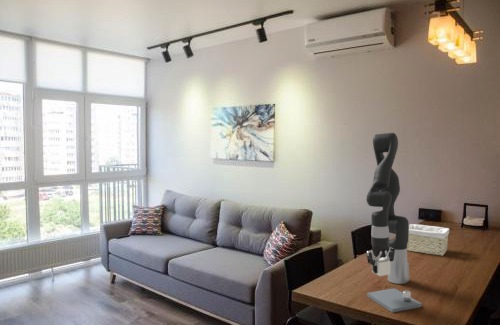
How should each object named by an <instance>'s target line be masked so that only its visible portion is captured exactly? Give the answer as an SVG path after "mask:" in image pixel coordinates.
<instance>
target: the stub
mask: <svg viewBox="0 0 500 325" xmlns="http://www.w3.org/2000/svg"><path fill="white" fill-rule="evenodd" d="M402 293H403V301H404V302H411V298H412V296H411V295H412V292H411V291H410V290H402Z"/></svg>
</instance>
